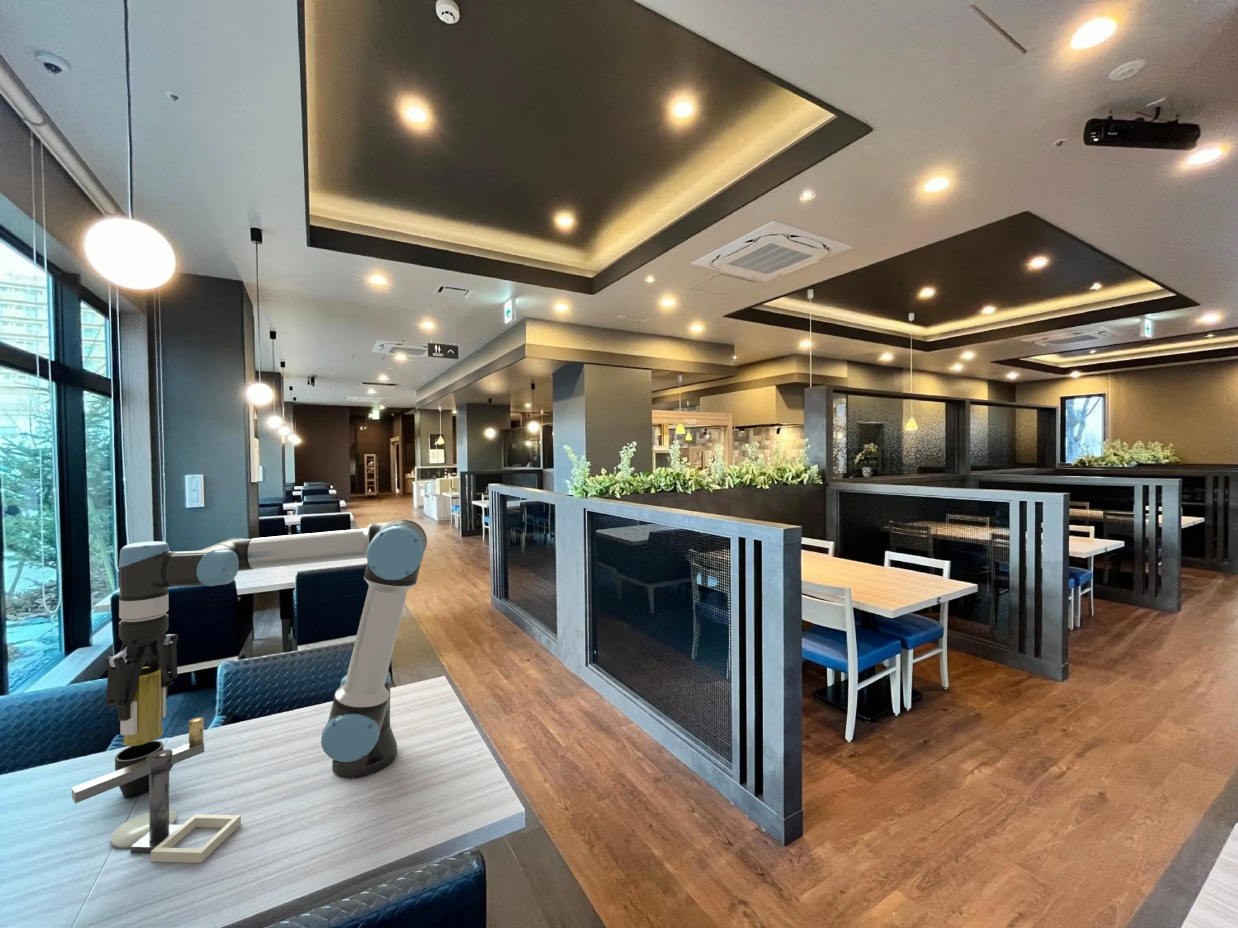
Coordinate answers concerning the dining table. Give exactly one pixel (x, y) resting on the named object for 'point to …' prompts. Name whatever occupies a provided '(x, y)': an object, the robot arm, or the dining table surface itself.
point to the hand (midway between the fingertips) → (143, 724)
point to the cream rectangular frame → (195, 855)
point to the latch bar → (144, 765)
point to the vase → (147, 708)
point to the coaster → (135, 830)
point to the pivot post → (156, 814)
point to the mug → (133, 757)
